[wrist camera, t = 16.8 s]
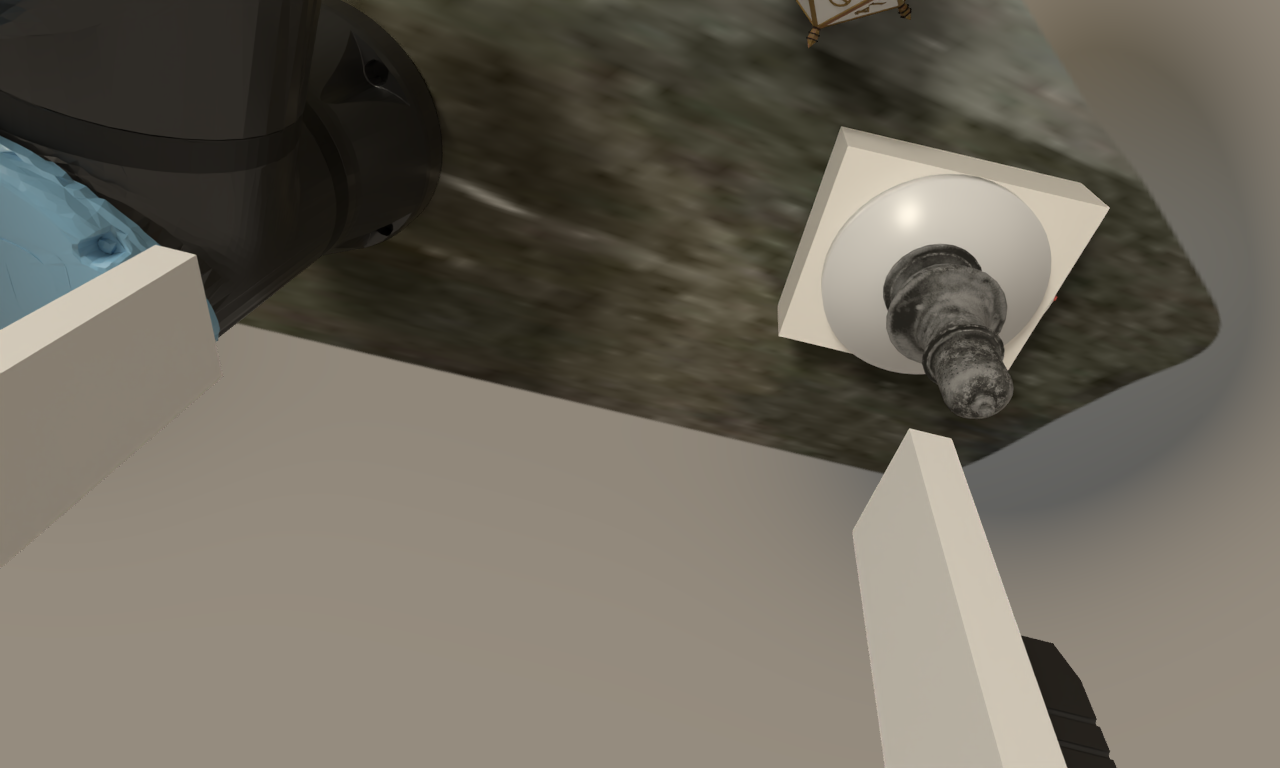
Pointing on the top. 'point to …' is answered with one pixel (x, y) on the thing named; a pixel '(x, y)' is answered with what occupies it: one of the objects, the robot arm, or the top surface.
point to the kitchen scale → (927, 240)
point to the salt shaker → (951, 326)
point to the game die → (845, 12)
